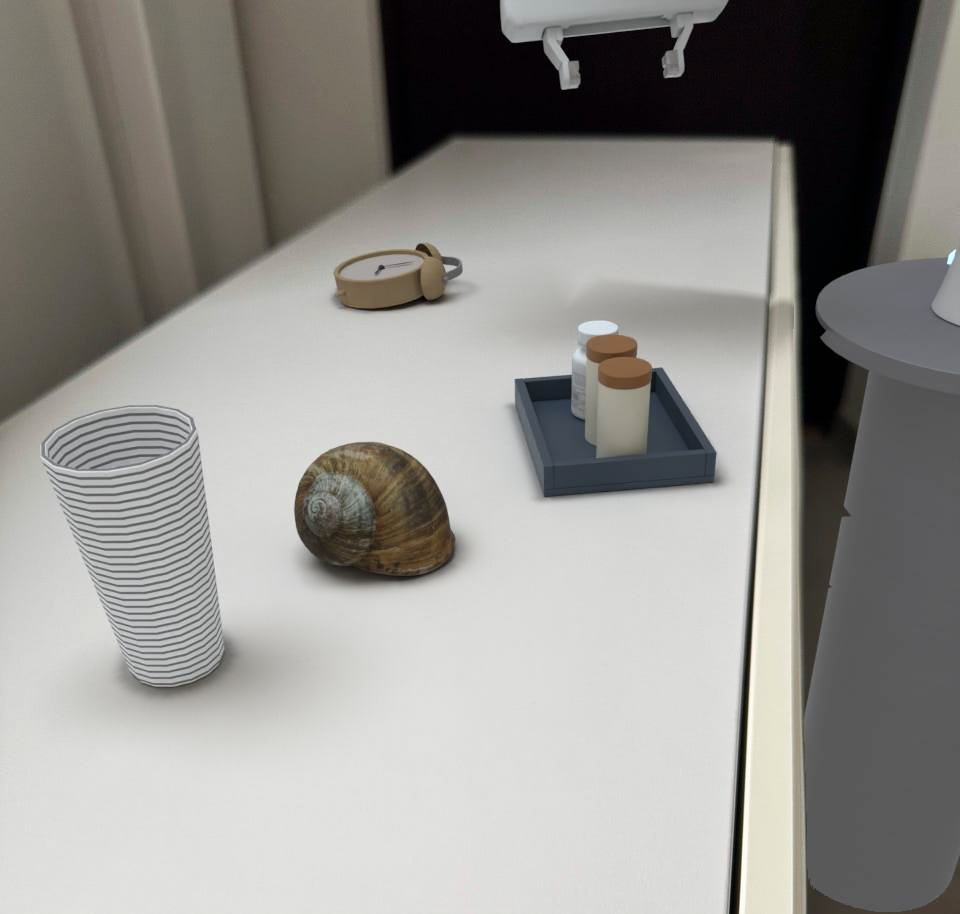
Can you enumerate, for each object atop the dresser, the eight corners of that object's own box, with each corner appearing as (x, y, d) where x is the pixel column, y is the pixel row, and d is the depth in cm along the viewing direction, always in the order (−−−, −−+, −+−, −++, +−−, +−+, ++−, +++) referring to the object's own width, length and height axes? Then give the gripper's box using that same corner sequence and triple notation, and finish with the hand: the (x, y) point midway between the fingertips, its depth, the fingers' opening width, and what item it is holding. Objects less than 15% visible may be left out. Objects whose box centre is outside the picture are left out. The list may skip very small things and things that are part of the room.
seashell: (278, 575, 75) (260, 473, 70) (334, 512, 82) (320, 416, 77) (426, 598, 72) (417, 493, 67) (471, 530, 79) (466, 432, 74)
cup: (94, 648, 68) (24, 427, 59) (219, 607, 72) (171, 392, 63) (129, 719, 62) (57, 486, 53) (264, 671, 66) (218, 443, 57)
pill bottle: (607, 426, 91) (610, 339, 86) (562, 417, 93) (563, 331, 88) (629, 407, 94) (633, 322, 89) (585, 399, 96) (586, 315, 91)
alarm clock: (330, 258, 126) (451, 226, 125) (342, 298, 129) (461, 267, 128) (330, 288, 117) (461, 253, 116) (343, 330, 120) (471, 297, 119)
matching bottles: (627, 425, 91) (631, 332, 86) (651, 473, 84) (657, 374, 79) (580, 428, 91) (581, 336, 86) (600, 477, 83) (603, 379, 79)
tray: (660, 394, 97) (662, 367, 96) (713, 482, 83) (717, 452, 82) (515, 405, 97) (514, 378, 95) (543, 496, 82) (543, 466, 81)
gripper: (491, -96, 88) (512, 79, 90) (728, -119, 89) (744, 54, 91) (483, -57, 94) (504, 106, 96) (705, -79, 96) (720, 82, 98)
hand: (622, 80), depth 94 cm, fingers open, 8 cm apart
